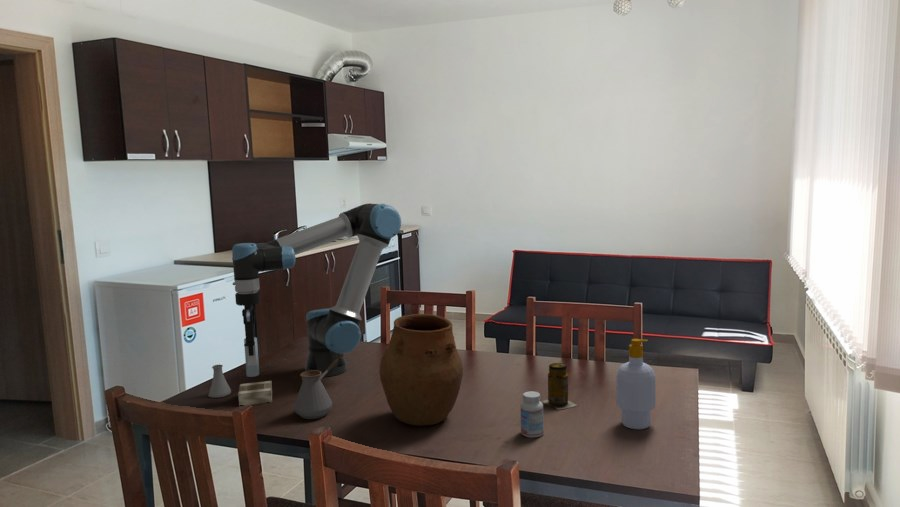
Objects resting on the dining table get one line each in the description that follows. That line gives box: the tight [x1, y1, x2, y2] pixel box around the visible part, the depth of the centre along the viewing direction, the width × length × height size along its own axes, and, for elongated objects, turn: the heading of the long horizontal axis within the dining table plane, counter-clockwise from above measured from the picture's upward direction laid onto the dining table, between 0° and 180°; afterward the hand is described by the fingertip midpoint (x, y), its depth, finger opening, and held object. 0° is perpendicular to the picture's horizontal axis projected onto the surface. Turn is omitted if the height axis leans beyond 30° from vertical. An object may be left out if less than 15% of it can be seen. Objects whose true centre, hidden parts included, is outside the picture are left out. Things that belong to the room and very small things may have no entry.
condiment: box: [541, 362, 578, 411], centre depth 196 cm, size 7×8×12 cm
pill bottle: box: [520, 390, 545, 439], centre depth 175 cm, size 6×6×11 cm
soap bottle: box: [616, 338, 657, 430], centre depth 177 cm, size 10×10×24 cm
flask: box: [208, 364, 232, 399], centre depth 216 cm, size 7×7×10 cm
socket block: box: [237, 380, 273, 407], centre depth 211 cm, size 10×10×4 cm
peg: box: [243, 337, 260, 378], centre depth 209 cm, size 4×4×12 cm
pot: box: [379, 313, 464, 427], centre depth 186 cm, size 24×24×30 cm
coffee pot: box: [293, 353, 348, 420], centre depth 199 cm, size 21×12×15 cm, turn 149°
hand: (252, 362), depth 209 cm, fingers closed on peg, 4 cm apart
